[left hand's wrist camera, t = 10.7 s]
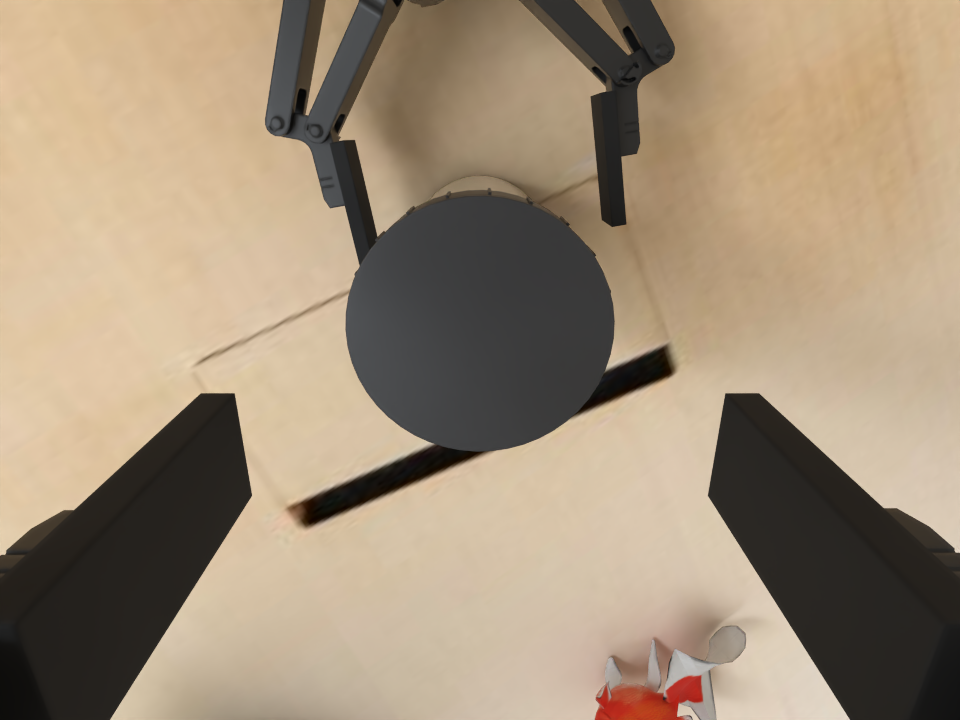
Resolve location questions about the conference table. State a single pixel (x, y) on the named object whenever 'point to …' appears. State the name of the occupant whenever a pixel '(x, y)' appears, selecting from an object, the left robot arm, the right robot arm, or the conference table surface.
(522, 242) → the lid
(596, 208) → the conference table surface
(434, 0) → the right robot arm
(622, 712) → the fish
